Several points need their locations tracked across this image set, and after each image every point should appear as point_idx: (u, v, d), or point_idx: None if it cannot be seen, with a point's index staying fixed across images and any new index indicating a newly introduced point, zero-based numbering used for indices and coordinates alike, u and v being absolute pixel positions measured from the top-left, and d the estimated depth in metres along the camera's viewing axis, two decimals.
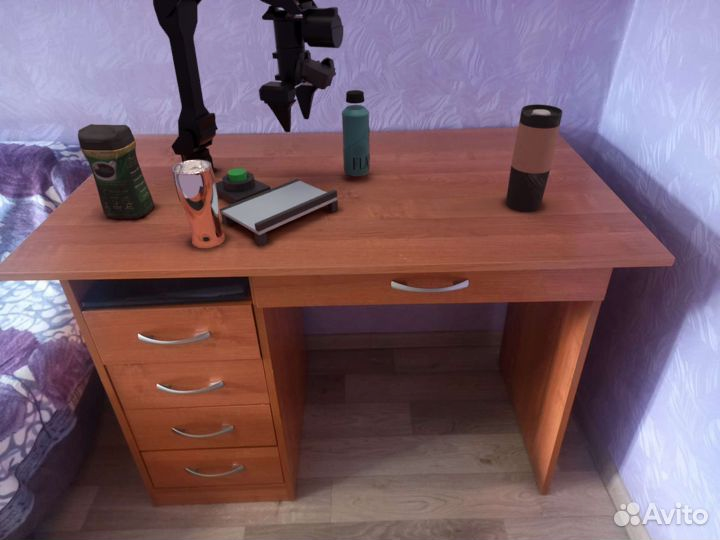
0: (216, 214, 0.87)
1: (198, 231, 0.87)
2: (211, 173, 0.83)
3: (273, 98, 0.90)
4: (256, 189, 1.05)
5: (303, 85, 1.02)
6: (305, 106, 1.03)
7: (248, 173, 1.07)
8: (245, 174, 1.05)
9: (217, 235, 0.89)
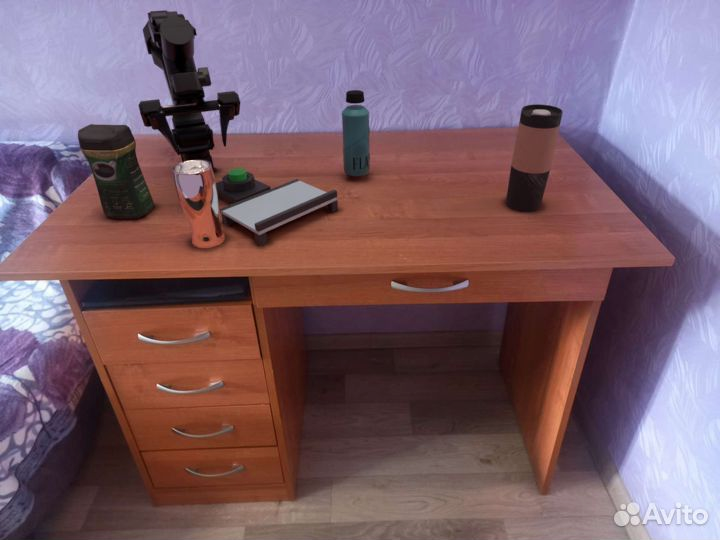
0: (216, 214, 0.87)
1: (198, 231, 0.87)
2: (211, 173, 0.83)
3: None
4: (256, 189, 1.05)
5: None
6: (221, 132, 0.95)
7: (248, 173, 1.07)
8: (245, 174, 1.05)
9: (217, 235, 0.89)
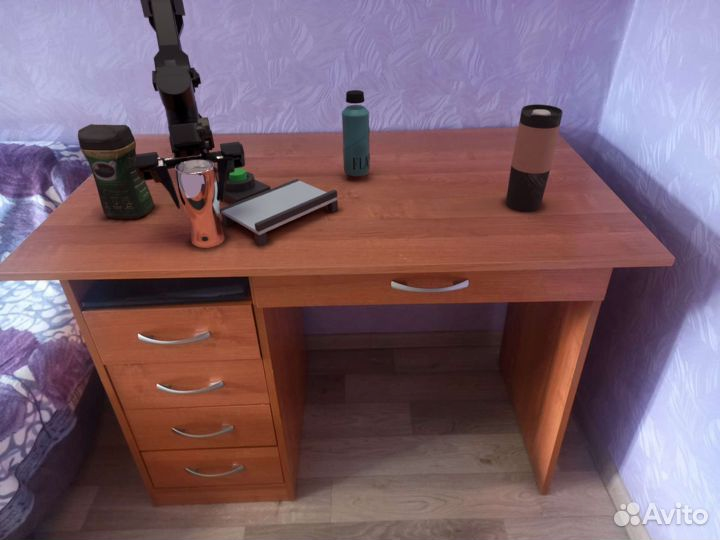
0: (217, 214, 0.87)
1: (198, 230, 0.87)
2: (214, 173, 0.83)
3: None
4: (256, 189, 1.05)
5: None
6: None
7: (248, 173, 1.07)
8: (245, 174, 1.05)
9: (217, 235, 0.89)
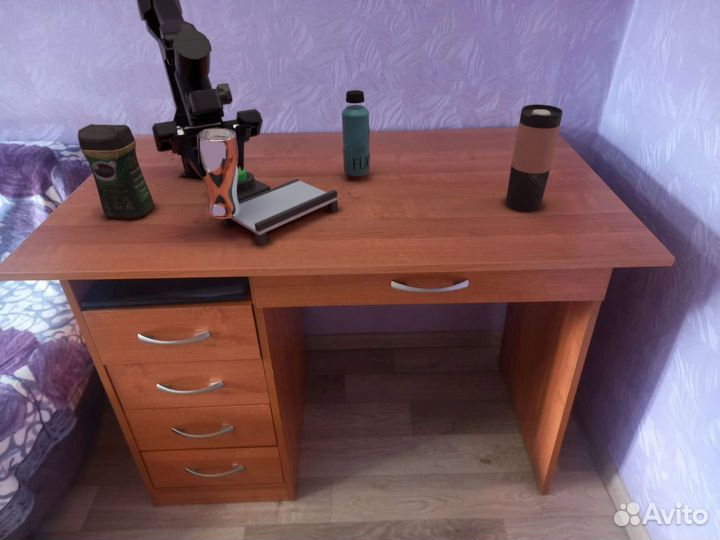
0: (236, 184, 0.86)
1: (217, 201, 0.86)
2: (236, 142, 0.82)
3: (155, 140, 0.81)
4: (256, 189, 1.05)
5: None
6: None
7: (248, 173, 1.07)
8: (245, 174, 1.05)
9: (235, 206, 0.88)
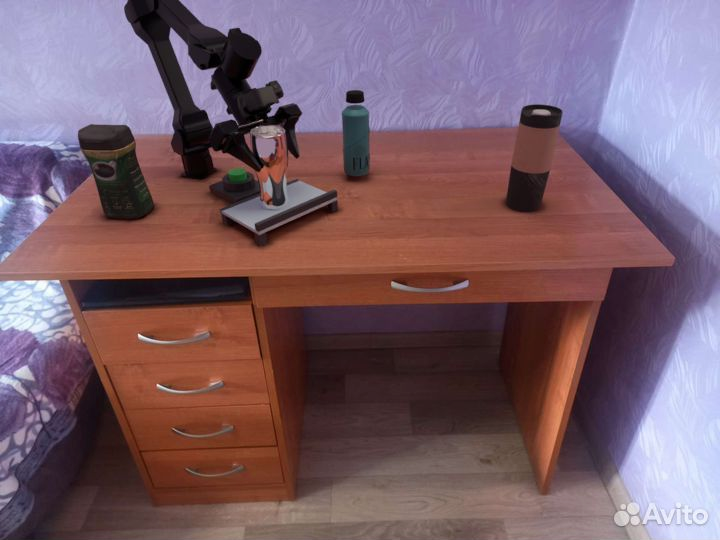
0: None
1: (274, 193, 0.92)
2: None
3: (216, 140, 0.85)
4: (256, 189, 1.05)
5: None
6: (290, 145, 0.94)
7: (248, 173, 1.07)
8: (245, 174, 1.05)
9: (287, 195, 0.95)
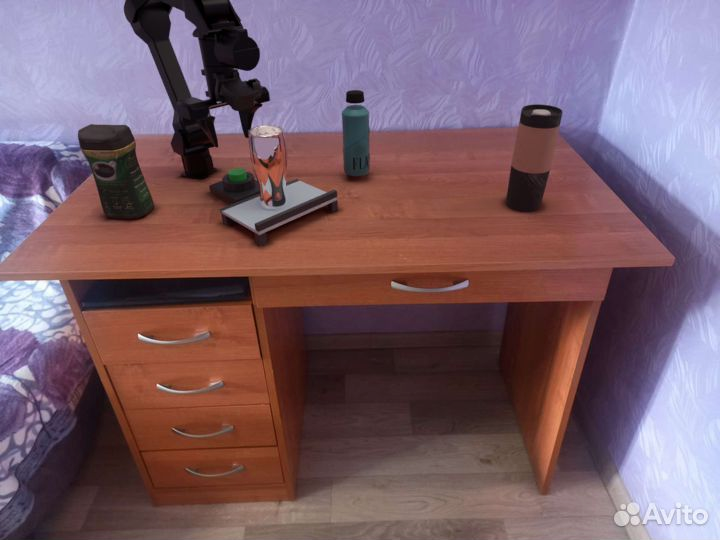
0: None
1: (273, 193, 0.93)
2: None
3: (184, 114, 0.91)
4: (256, 189, 1.05)
5: None
6: (245, 125, 1.02)
7: (248, 173, 1.07)
8: (245, 174, 1.05)
9: (287, 195, 0.95)
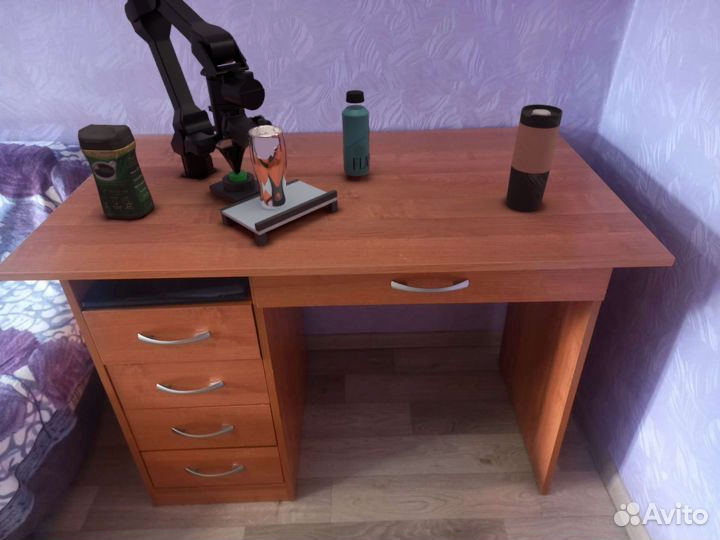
0: None
1: (273, 193, 0.93)
2: None
3: (191, 149, 0.95)
4: (256, 189, 1.05)
5: (234, 141, 1.02)
6: None
7: (248, 173, 1.07)
8: (245, 176, 1.05)
9: (287, 195, 0.95)
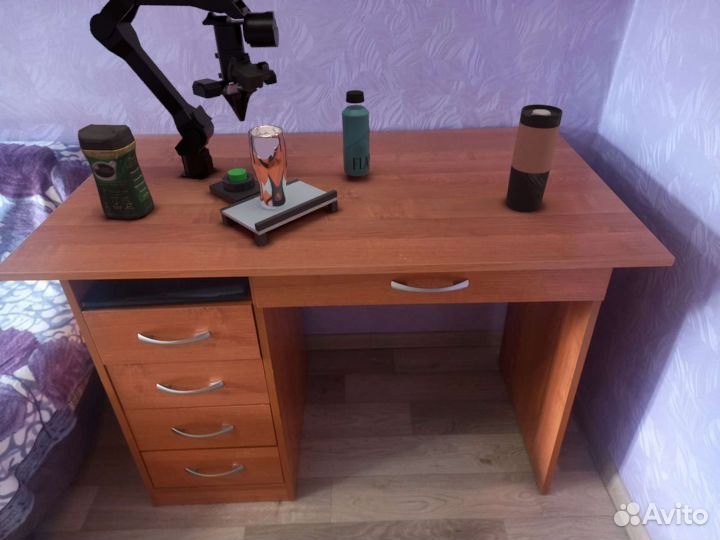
0: None
1: (273, 193, 0.93)
2: None
3: (199, 93, 1.00)
4: (256, 189, 1.05)
5: (239, 88, 1.07)
6: None
7: (248, 173, 1.07)
8: (245, 174, 1.05)
9: (287, 195, 0.95)
